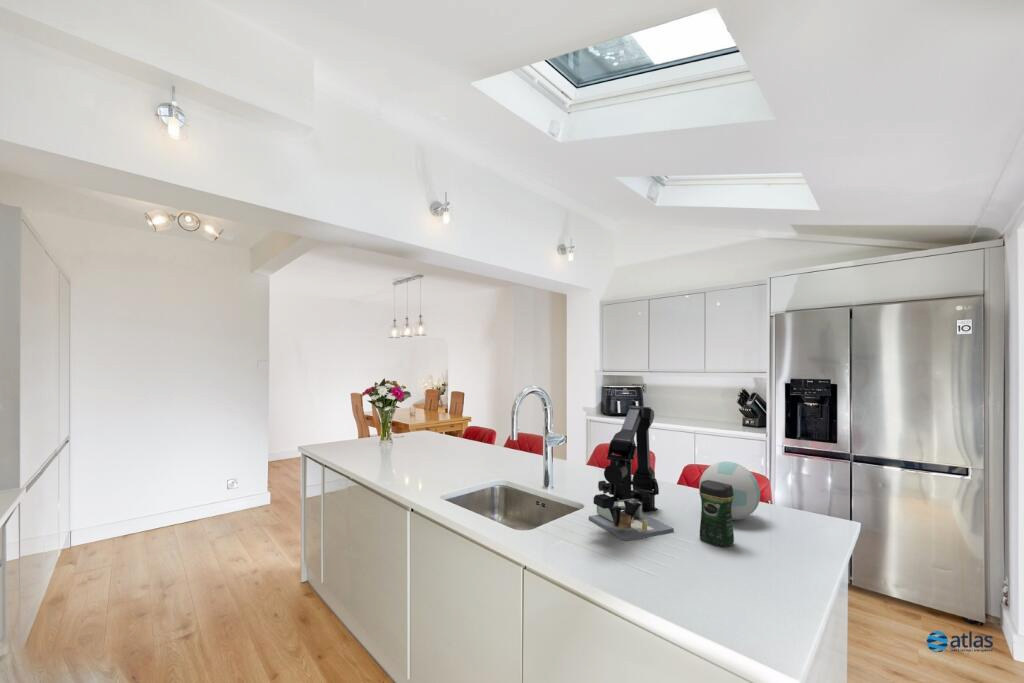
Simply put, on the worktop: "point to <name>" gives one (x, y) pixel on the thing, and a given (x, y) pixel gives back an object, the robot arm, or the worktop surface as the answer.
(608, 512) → the housing
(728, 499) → the coffee jar
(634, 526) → the board
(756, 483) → the volleyball
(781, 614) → the worktop surface
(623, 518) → the block
